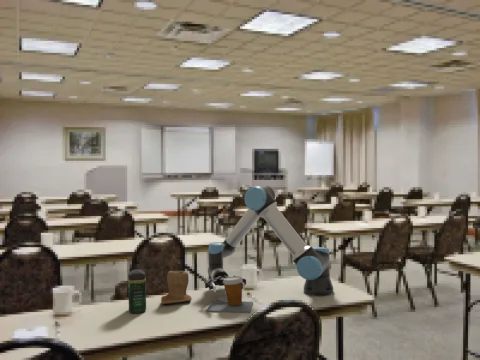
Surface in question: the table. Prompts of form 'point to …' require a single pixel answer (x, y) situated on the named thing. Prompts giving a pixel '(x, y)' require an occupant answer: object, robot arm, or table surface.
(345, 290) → the table surface
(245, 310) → the rubber mat
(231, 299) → the disposable coffee cup
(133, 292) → the coffee jar
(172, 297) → the tan ankle boots
